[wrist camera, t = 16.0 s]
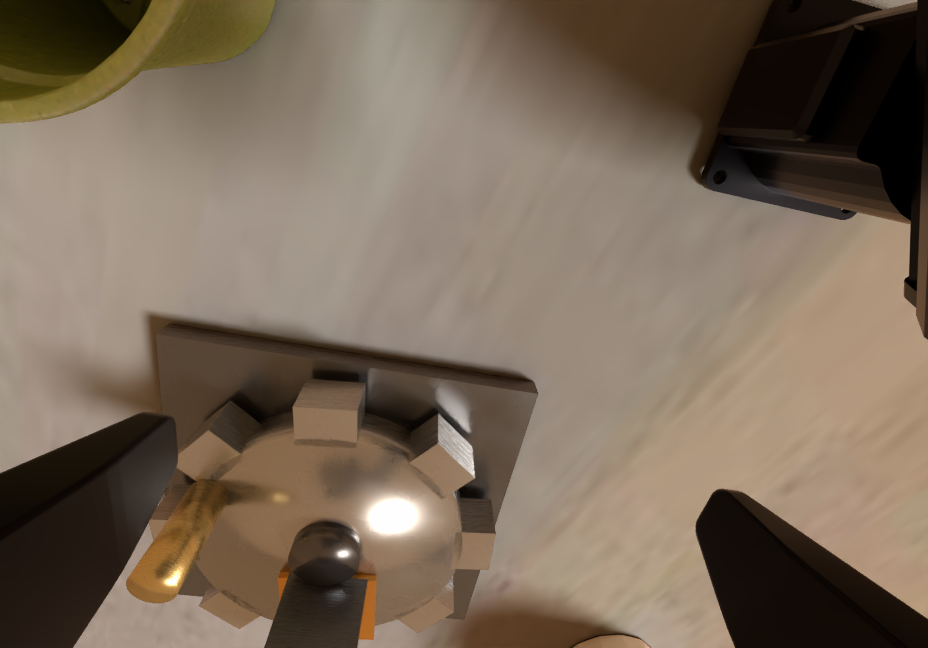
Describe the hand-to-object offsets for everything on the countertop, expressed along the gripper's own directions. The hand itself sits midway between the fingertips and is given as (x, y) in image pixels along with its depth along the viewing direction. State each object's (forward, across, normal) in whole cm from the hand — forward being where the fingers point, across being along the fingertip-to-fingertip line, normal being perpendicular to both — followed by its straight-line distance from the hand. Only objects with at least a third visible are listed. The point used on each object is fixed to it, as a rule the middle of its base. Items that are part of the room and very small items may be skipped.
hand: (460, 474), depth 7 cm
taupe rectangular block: (+8, +3, +17) cm, 19 cm away
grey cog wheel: (+11, +3, +13) cm, 17 cm away
